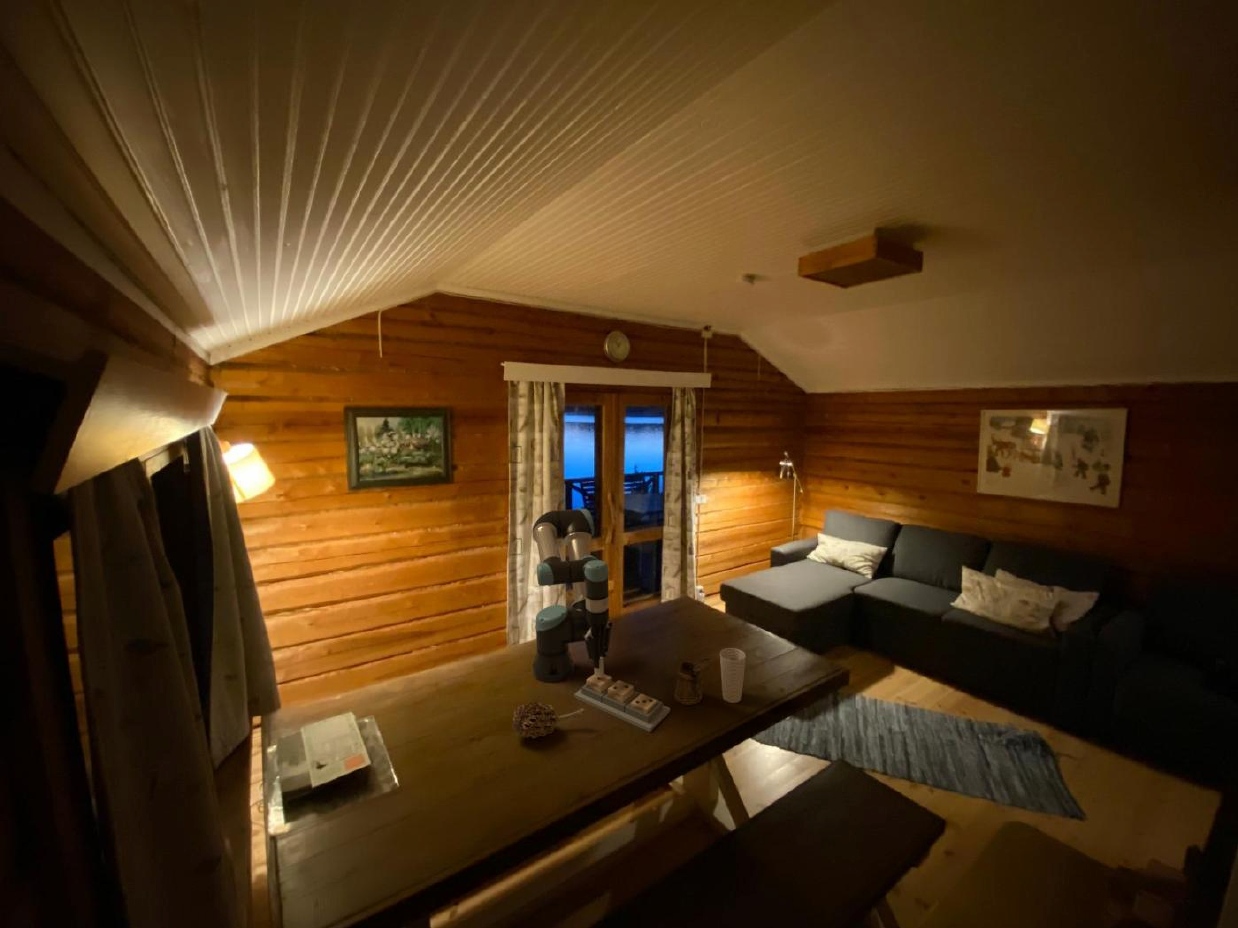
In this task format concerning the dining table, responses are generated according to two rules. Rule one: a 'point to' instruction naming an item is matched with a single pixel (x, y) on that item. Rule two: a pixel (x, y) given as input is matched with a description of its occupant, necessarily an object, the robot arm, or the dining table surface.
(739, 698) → the cup
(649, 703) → the tile
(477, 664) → the dining table surface
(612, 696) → the tile
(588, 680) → the tan square block
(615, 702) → the button board
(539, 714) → the pine cone
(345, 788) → the dining table surface
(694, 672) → the wooden mug
